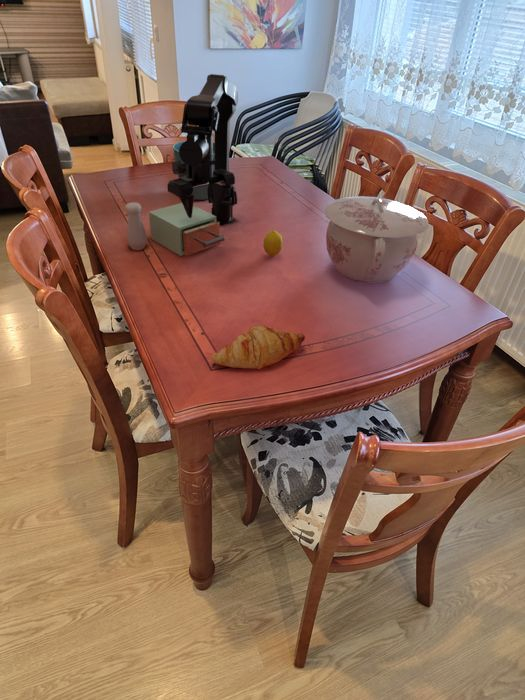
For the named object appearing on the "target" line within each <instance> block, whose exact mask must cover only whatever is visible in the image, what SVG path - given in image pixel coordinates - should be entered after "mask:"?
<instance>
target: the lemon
mask: <svg viewBox="0 0 525 700" xmlns="http://www.w3.org/2000/svg"><path fill="white" fill-rule="evenodd" d="M283 245H284V244H283V237H282V235H281V233H279V232H278V231H276V230H274V229H273V230H271V231H269V232H268V233H266V234H265V236H264V237H263V250H264V252H265V253H266V255H269V256H270V257H274V256H277V255H278V254H280V253H281V251H282V249H283Z"/></svg>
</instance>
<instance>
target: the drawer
mask: <svg viewBox="0 0 525 700" xmlns="http://www.w3.org/2000/svg"><path fill="white" fill-rule="evenodd" d="M220 231H221V225H220V222H218V221H215V222H212V220H211V221H208V222H205V223H201V224H198V225H195V226H192V227H189V228H185V229H182V230H181V233H182V250H183V251H184V254H185V255H184V256H189V255H192V254H195V253H197V252H200V251H204V250H205V249H208V248H211V247H214V246H218V245H220V244H221V243H222V242H224V241H225V239H226V238H225V235H223V234H222V235H220V234H221V232H220Z"/></svg>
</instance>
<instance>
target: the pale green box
mask: <svg viewBox="0 0 525 700" xmlns="http://www.w3.org/2000/svg"><path fill="white" fill-rule="evenodd" d="M148 218H149V220H148V221H149V228H150V229H149V230H150V239H151V240H152V241H154V242H155V243H157V244H158V245H160V246H163V247H164V248H166V249H167V250H168V251H171V252H173V253H174V254H176V255H178V256H179V257H182V256H186V255H185V254H184V251H183V250H182V233H181V230H182V229H185V228H189V227H192V226H195V225H198V224H201V223H205V222H208V221H211V220H212V222H215V221H216V216H214V215H212V213H210V212H208V211H205V210H204V209H202V208H199V207H198V206H197V205H196V206H195V205H193V211H192V217H191V218H189V217H188V216H187V213H186V211H185V208H184V206H183V204H182V202H179V203H176V204H172V205H169V206H165V207H162V208H161V207H160V208H158V209H154V210H151V211H148Z"/></svg>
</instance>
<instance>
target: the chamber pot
mask: <svg viewBox="0 0 525 700" xmlns="http://www.w3.org/2000/svg"><path fill="white" fill-rule="evenodd" d="M323 211H324V214H325V217H326V218H327V219H328V220H330V221H329V223H328V224H327V227H326V234H325V243H326V244H325V245H326V250H327V251H326V252H327V254H328V256H329V258H330V260H331V263H332V266H333V267H334V268H335V269H336V271H338V272H339V273H340V274H341V275H342V276H345V277H347V278H348V279H351V280H353V281H357V282H362V283H376V284H377V283H382V282H387V281H389V280H391V279H393V278H395V277H397V275H398V274H399V273H401V272H403V270H404V269H405V268H406V267H408V265H409V264H410V262H411V260H412V259H413V257H414V255H415V252H416V250H417V247H418V242H419V235H420V234H423V233H424V232H425V231H426V230H427V229H428V228H429V219H428V218H427V217H426V216H425V215H424V213H423V212H422V211H420V210H418V209H416V208H415V207H413V206H410V205H408V204H406V203H403V202H399V201H395V200H392V199H388V198H384V197H377V196H364V195H363V196H362V195H359V196H358V195H355V196H345V197H341V198H337V199H334V200H332V201H330V202H329V203H327V204H326V205H325V207H324V209H323Z"/></svg>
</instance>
